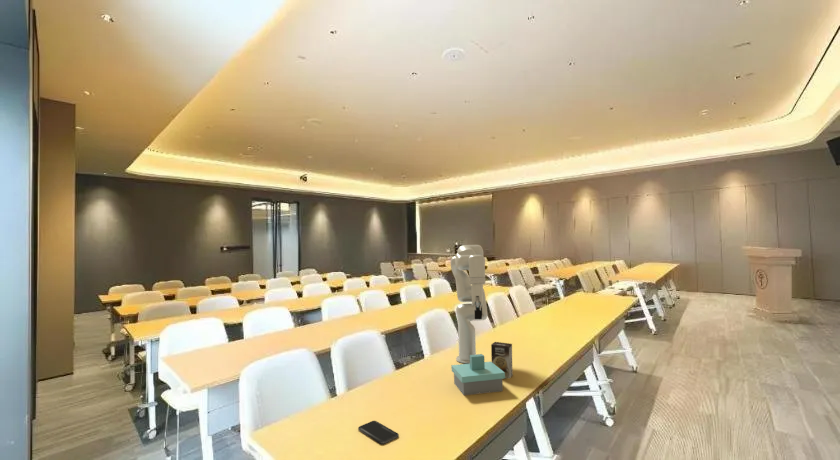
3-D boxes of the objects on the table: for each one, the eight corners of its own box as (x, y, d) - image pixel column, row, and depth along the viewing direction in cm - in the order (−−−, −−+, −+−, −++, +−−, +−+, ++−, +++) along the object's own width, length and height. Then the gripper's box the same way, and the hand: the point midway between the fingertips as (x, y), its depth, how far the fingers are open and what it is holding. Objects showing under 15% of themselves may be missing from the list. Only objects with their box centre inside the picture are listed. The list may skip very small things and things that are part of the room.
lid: (451, 370, 176) (451, 352, 176) (490, 366, 180) (490, 349, 180) (462, 382, 160) (461, 362, 160) (505, 378, 164) (504, 358, 165)
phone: (381, 443, 124) (357, 427, 135) (382, 446, 124) (357, 430, 135) (400, 434, 130) (374, 419, 141) (400, 437, 130) (374, 422, 141)
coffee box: (491, 377, 183) (490, 344, 184) (495, 373, 189) (494, 341, 189) (509, 380, 179) (508, 346, 180) (513, 376, 185) (512, 343, 185)
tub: (454, 385, 175) (453, 367, 175) (490, 381, 178) (489, 364, 179) (463, 397, 161) (463, 378, 161) (502, 392, 165) (502, 374, 165)
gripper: (470, 280, 187) (471, 314, 186) (468, 282, 170) (469, 320, 169) (485, 279, 186) (486, 314, 184) (484, 282, 169) (486, 320, 167)
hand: (478, 317), depth 177 cm, fingers open, 9 cm apart
